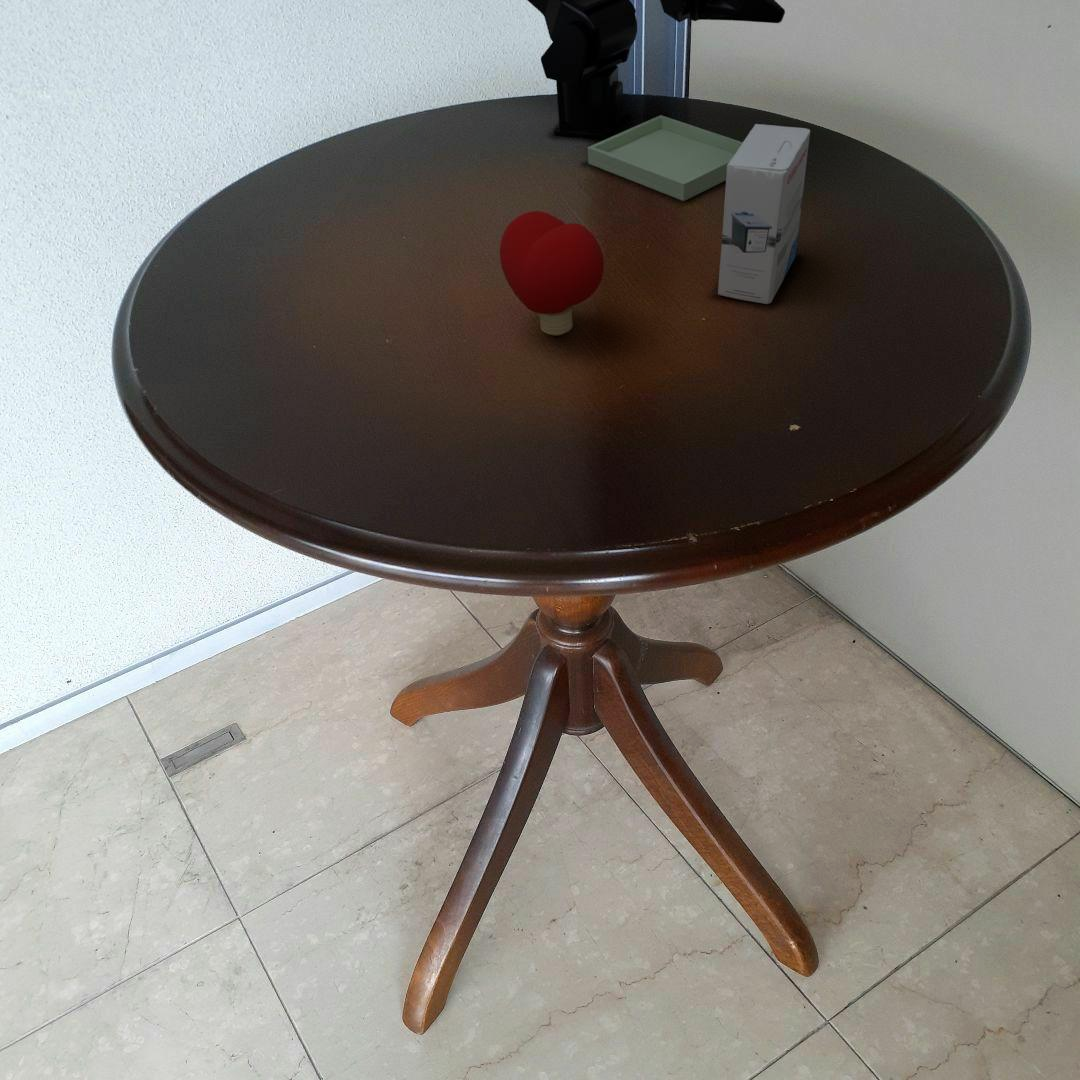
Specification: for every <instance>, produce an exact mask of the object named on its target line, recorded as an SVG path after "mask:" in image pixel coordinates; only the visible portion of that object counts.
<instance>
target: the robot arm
mask: <svg viewBox="0 0 1080 1080" xmlns="http://www.w3.org/2000/svg"><path fill="white" fill-rule="evenodd" d="M526 1H527V2H528V3H530V4H531V5H532V6H533V7H534V8H535V9H536V10H537V11H538V12H540V14H541V15H542V16H543V17H544V21H545V24H546V29H547V32H548V35H549V38H550V40H551V41H552V42H551V43H550V45H549V46H548V47H547V49H546V50H545V51H544V52H543V54H542V55H541V57H540V62H541V66H542V68H543V72H544V75H545V78H546V79H549V80H553V81H555V83H556V84H555V85H556V99H557V113H558V123H557V125H556V126H555V127H554V128H553V134H554V135H558V136H572V137H586V138H600V139H608V138H610V136H611V134H612V133H613V132H614V131H615V129H616V128H618V126H619V124H620V123H621V122H622V121H623V120H624V118H625V112H624V83H623V81H622V80H619V66H618V65H620V64H623V63H626V62H627V61H628V58H629V54H630V51H631V48H632V46H633V45H634V42H635V41H636V38H637V34H638V20H637V15H636V13H637V10H636V8H635V5H634V4H633V3H632V2H631V0H526ZM659 1H660V4H661V7H662V10H663V13H664V14H666V15H667V16H669V17H670V18H672V19H673V20H674V21H676V22H677V23H681V22H684V21H685V20H687V19H690V20H691V21H692V22H697V21H701V20H702V21H703V20H704V21H709V20H710V21H732V22H733V21H734V22H735V21H737V22H751V23H768V24H780V23H782V21H783V19H784V16H785V14H786V10H785V8H783V7H782V5H781V4H779V3H778V2H777V1H776V0H659Z"/></svg>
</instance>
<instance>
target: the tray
mask: <svg viewBox="0 0 1080 1080" xmlns="http://www.w3.org/2000/svg"><path fill="white" fill-rule="evenodd" d="M743 142H744V141H740V140H737V139H734V138H731V137H728V136H725V135H722V134H719V133H716V132H713V131H710V130H707V129H704V128H701V127H698V126H694V125H692V124H689V123H686V122H683V121H680V120H677V119H674V118H671V117H668V116H665V115H661V114H660V115H658V116H655V117H653V118H651V119H649V120H647V121H644V122H642V123H640V124H638V125H635V126H633V127H631V128H629V129H626V130H624V131H622V132H619V133H617V134H615V135H612V136H609V137H607V138H605V139H604V140H601V141H599V142H596V143H595V144H594V143H593V144H591V145H590V146H588V147H587V161H588V165H591V166H593V167H596V168H598V169H601V170H603V171H605V172H609V173H611V174H614V175H616V176H619V177H622V178H624V179H626V180H628V181H631V182H634V183H636V184H639V185H642V186H644V187H645V188H646V187H647V188H649V189H651V190H653V191H657V192H659V193H661V194H665V195H667V196H669V197H672V198H674V199H677V200H680V201H682V202H685V201H688V200H689V199H692V198H693V197H694V196H697V195H699V194H701V193H703V192H705V191H708V190H709V189H711V188H714V187H715V186H717V185H719V184H721V183H724V182H726V176H727V165H728V163H729V162H730V161H731V159H732V158H733V156H734V155H735V153H736V152H737V150H738V149H739V148H740V146H741V145H742V143H743Z"/></svg>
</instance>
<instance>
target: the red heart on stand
mask: <svg viewBox="0 0 1080 1080" xmlns="http://www.w3.org/2000/svg"><path fill="white" fill-rule="evenodd" d="M594 235H595V234H593V233H592V232H591V231H590V230H589V229H588V228H587V227H586V226H584V225H582V224H579V223H576V222H575V223H573V222H571V223H565V221H563V220H561V219H560V218H558V217H556V216H554V215H552V214H551V213H548V212H544V211H539V210H534V211H533V210H532V211H528V212H524V213H522V214H520V215H518V216H516V217H515V218H514V219H513V220H512V221H511V222H509V224H508V225H507V227H506V228H505V230H504V232H503V234H502V236H501V240H500V245H499V259H500V260H499V261H500V266H501V269H502V273H503V275H504V277H505V280H506V282H507V284H508V285H509V287H510V288H511V290H512V292H513V293H514V296H516V297H517V298H518V300H519V301H520V302H521V303H522V304H523V305H524V306H525V308H527V310H528V311H530V312H533V313H536V314H539V324H540V329H541V331H542V333H545V334H547V335H550V336H552V337H554V338H560V337H562V336H563V335H565V334H566V333H567V332H569V331H571V329H572V328H573V324H574V323H573V315H572V312H573V311H572V310H573V306H576V305H579V304H581V303H583V302H585V301H586V300H588V299H589V298H590V297H592V296H593V295H594V293H595V292H596V291H597V290H598V288H599V286H600V284H601V283H602V279H603V275H604V270H605V260H604V254H603V251H602V248H601V246H600V244H599V242H598V240H597V238H596V237H595V236H594Z"/></svg>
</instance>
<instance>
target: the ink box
mask: <svg viewBox="0 0 1080 1080" xmlns="http://www.w3.org/2000/svg"><path fill="white" fill-rule="evenodd" d="M810 135H811V129H809V128H806V127H794V126H784V125H773V124H764V123H763V124H761V123H755V124H754V126H752V128H751V130H750V131H749V133H748V134H747V136H746V137H745V139H744V140H743V141H742V142H743V143H742V145H741V146H740V148H739V149H738V150H737V152H736V153H735V155H734V156H733V158H732V159H731V161H730V162H729V163H728V165H727V176H726V180H725V191H724V205H723V208H724V209H723V222H722V236H721V244H720V245H721V246H720V259H719V260H720V261H719V270H718V271H719V273H718V285H717V286H718V287H717V295H718V296H723V297H727V298H730V299H731V298H732V299H735V300H741V301H747V302H751V303H752V302H753V303H758V304H764V305H769V304H771V303H772V302H773V300H774V298H775V296H776V294H777V293H778V291H779V289H780V288H781V285H782V283H783V281H784V279H785V278H786V276H787V273H789V270H790V268H791V266H792V264H793V262H794V261H795V259H796V255H797V246H798V239H799V229H800V223H801V222H800V221H801V213H802V205H803V196H804V195H803V194H804V187H805V180H806V170H807V162H808V154H809V153H808V152H809V145H810V137H811V136H810Z"/></svg>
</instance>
